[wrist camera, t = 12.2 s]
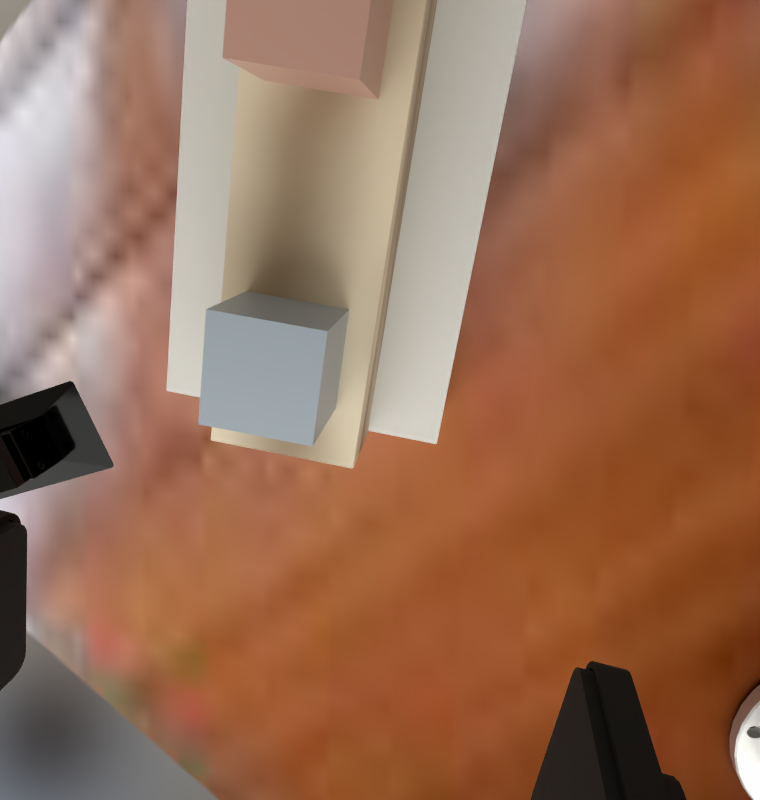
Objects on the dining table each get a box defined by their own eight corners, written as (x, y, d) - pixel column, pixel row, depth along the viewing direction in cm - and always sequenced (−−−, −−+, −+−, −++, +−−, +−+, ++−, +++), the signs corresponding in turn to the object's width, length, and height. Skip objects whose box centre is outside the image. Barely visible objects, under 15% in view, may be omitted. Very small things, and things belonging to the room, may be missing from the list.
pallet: (448, -71, 23) (444, -121, 20) (367, 433, 30) (353, 468, 26) (288, -92, 24) (255, -146, 20) (242, 409, 30) (211, 440, 27)
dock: (529, -28, 28) (541, -73, 23) (440, 409, 34) (436, 444, 30) (238, -70, 29) (193, -121, 24) (206, 364, 35) (166, 390, 31)
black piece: (94, 358, 37) (43, 380, 32) (146, 472, 38) (104, 507, 34) (-77, 415, 39) (-145, 442, 35) (-21, 518, 41) (-79, 556, 37)
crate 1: (398, -37, 20) (383, -89, 17) (378, 99, 22) (359, 80, 18) (277, -55, 21) (234, -110, 17) (264, 80, 22) (222, 57, 18)
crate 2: (349, 309, 24) (327, 331, 20) (335, 408, 25) (312, 446, 22) (246, 291, 24) (205, 309, 21) (238, 390, 26) (198, 424, 22)
